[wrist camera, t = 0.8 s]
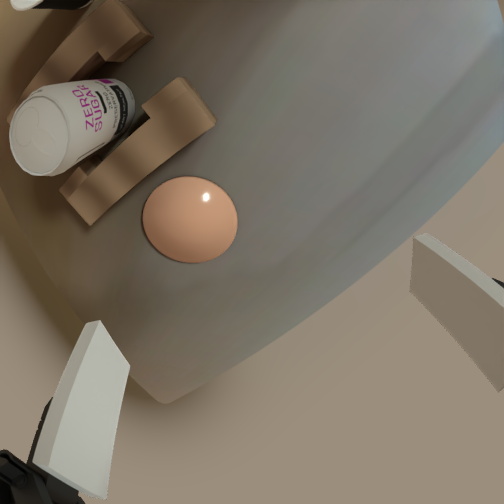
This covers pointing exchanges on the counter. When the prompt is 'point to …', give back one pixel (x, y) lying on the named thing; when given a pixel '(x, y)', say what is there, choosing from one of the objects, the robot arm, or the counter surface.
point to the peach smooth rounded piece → (190, 219)
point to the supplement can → (68, 123)
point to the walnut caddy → (157, 107)
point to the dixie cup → (49, 4)
